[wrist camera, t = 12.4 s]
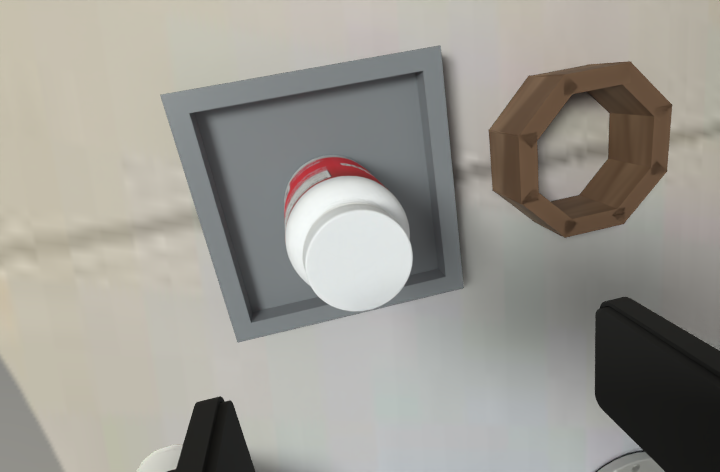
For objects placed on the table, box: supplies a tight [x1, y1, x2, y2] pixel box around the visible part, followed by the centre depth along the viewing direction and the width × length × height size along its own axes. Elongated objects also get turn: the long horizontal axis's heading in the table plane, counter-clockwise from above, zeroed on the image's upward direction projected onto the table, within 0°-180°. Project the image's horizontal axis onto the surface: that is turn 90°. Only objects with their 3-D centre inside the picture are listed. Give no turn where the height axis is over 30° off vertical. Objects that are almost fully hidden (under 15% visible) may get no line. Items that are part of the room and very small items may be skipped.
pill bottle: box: [284, 155, 413, 312], centre depth 24 cm, size 6×6×11 cm
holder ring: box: [489, 62, 672, 238], centre depth 30 cm, size 10×10×4 cm
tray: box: [160, 46, 464, 342], centre depth 28 cm, size 16×16×2 cm
